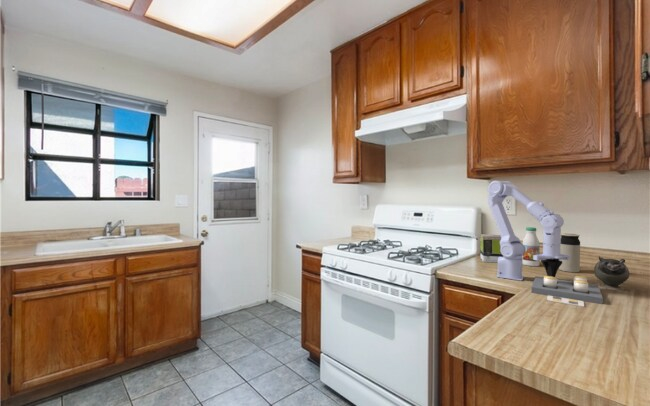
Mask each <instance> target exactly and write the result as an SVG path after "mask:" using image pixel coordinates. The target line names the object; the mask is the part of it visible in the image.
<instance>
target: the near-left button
mask: <svg viewBox="0 0 650 406" xmlns="http://www.w3.org/2000/svg"><path fill="white" fill-rule="evenodd" d="M543 277H544V286H546V287H552V288H555V287H557V279H558V278H557V277H556V276H555V277H552V276H547V275H544V276H543ZM556 278H557V279H556Z"/></svg>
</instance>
